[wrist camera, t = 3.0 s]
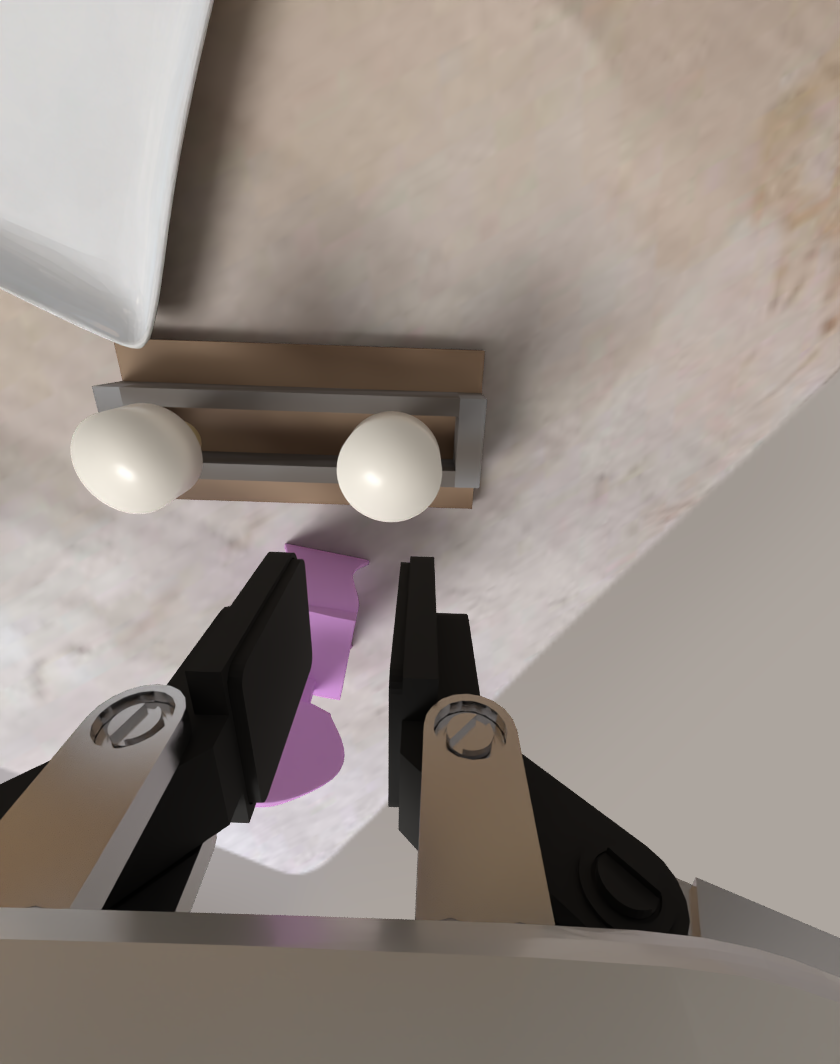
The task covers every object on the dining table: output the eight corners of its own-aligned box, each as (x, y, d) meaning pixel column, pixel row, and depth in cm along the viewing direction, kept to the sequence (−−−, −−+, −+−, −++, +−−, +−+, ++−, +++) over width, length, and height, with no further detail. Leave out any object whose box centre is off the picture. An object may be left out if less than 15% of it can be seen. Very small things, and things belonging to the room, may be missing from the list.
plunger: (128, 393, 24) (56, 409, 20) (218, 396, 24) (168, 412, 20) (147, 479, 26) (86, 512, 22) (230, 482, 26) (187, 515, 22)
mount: (123, 338, 28) (80, 339, 24) (483, 350, 28) (491, 353, 24) (156, 493, 32) (124, 513, 28) (470, 503, 32) (476, 524, 28)
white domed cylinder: (351, 401, 24) (334, 418, 20) (440, 404, 24) (444, 421, 20) (354, 486, 26) (338, 520, 22) (437, 488, 26) (439, 523, 22)
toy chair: (383, 556, 34) (356, 712, 20) (363, 649, 37) (328, 836, 23) (272, 534, 33) (163, 678, 19) (262, 630, 36) (164, 811, 23)
